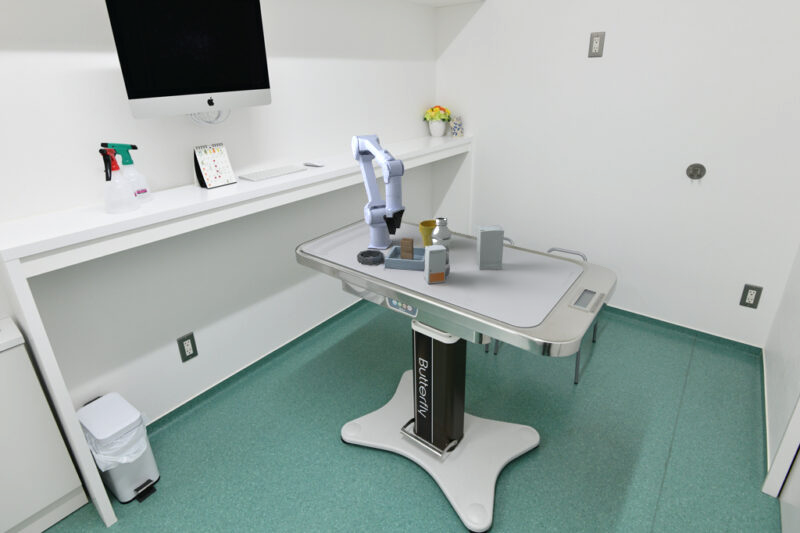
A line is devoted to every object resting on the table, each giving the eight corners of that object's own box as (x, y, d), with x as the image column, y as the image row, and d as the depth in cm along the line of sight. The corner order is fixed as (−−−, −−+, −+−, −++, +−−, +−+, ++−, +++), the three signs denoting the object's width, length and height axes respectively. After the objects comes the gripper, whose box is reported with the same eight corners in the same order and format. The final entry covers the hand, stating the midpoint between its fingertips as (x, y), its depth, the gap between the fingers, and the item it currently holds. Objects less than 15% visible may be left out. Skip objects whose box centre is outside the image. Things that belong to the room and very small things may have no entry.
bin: (393, 254, 174) (393, 245, 172) (429, 256, 171) (430, 247, 169) (384, 268, 161) (384, 258, 160) (423, 271, 158) (423, 261, 157)
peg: (402, 258, 168) (402, 237, 165) (413, 259, 167) (413, 238, 164) (400, 262, 164) (400, 241, 161) (411, 263, 163) (411, 242, 160)
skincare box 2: (498, 263, 164) (501, 224, 158) (502, 270, 158) (505, 229, 152) (475, 264, 163) (477, 224, 158) (478, 270, 158) (480, 230, 152)
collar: (362, 255, 173) (362, 249, 172) (385, 256, 171) (385, 250, 170) (355, 264, 165) (354, 257, 164) (379, 266, 163) (378, 259, 162)
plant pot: (413, 245, 182) (413, 222, 178) (434, 240, 187) (434, 217, 184) (429, 253, 174) (429, 228, 170) (450, 247, 179) (451, 224, 176)
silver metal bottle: (430, 272, 157) (431, 216, 150) (449, 272, 157) (451, 216, 150) (430, 279, 151) (431, 221, 144) (450, 279, 151) (452, 221, 144)
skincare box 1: (428, 284, 148) (428, 250, 143) (424, 279, 152) (424, 245, 147) (445, 282, 149) (446, 248, 144) (441, 276, 153) (442, 244, 148)
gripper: (400, 199, 154) (401, 237, 159) (408, 190, 167) (409, 226, 172) (380, 199, 155) (381, 236, 160) (390, 190, 169) (391, 225, 174)
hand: (394, 231), depth 166 cm, fingers open, 7 cm apart
